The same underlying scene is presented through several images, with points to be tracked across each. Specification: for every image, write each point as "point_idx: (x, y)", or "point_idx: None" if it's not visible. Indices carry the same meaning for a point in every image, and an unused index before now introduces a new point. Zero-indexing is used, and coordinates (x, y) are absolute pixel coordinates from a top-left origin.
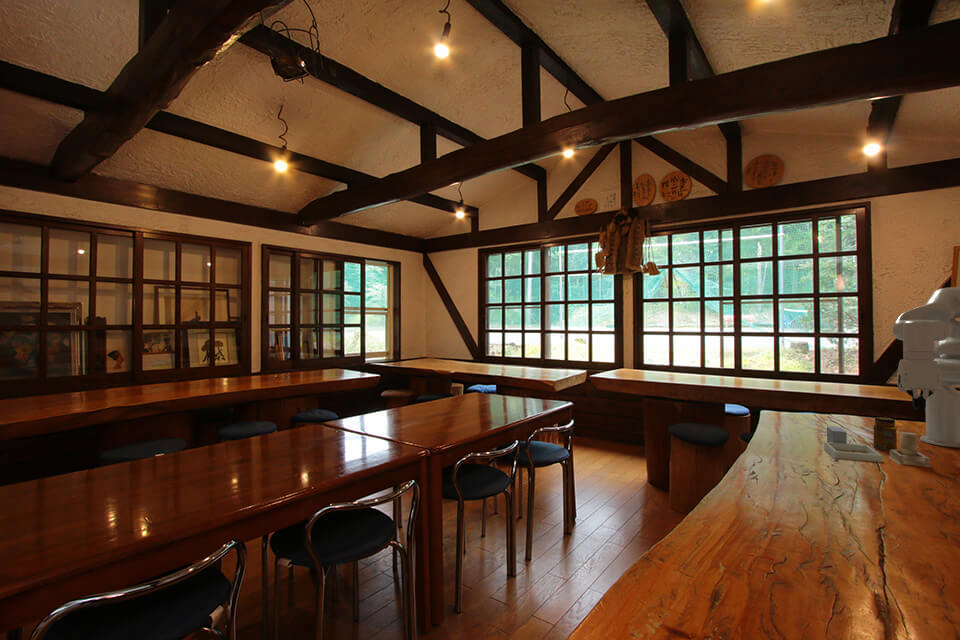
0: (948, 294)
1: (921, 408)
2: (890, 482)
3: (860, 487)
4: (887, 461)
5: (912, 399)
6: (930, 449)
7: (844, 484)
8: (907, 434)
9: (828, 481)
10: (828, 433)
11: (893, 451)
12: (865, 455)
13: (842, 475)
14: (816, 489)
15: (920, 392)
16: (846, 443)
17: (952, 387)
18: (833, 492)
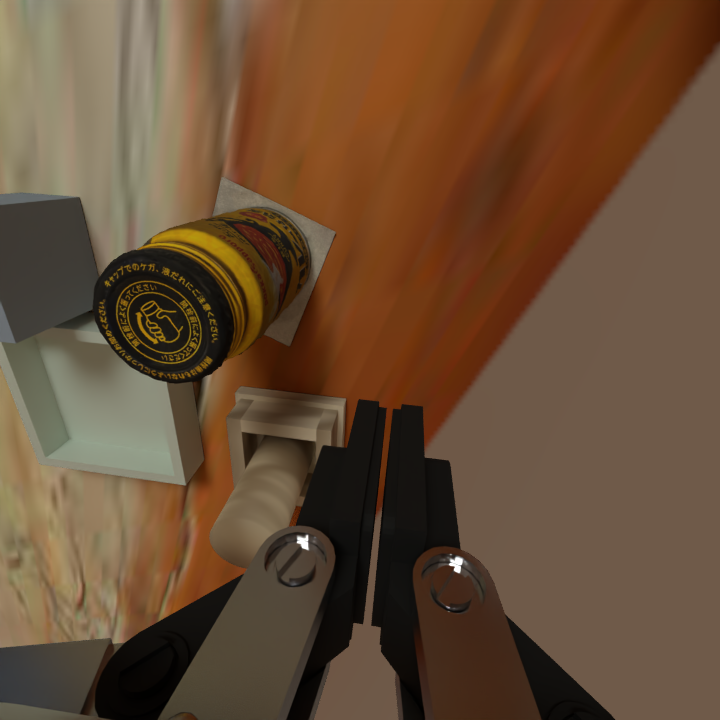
0: None
1: (382, 507)
2: (189, 584)
3: (124, 614)
4: None
5: (299, 523)
6: (556, 103)
7: (95, 604)
8: (234, 555)
9: (64, 593)
10: None
11: (231, 447)
12: (136, 473)
13: (91, 557)
14: (48, 629)
15: (424, 687)
16: (73, 317)
17: None
18: (77, 637)
